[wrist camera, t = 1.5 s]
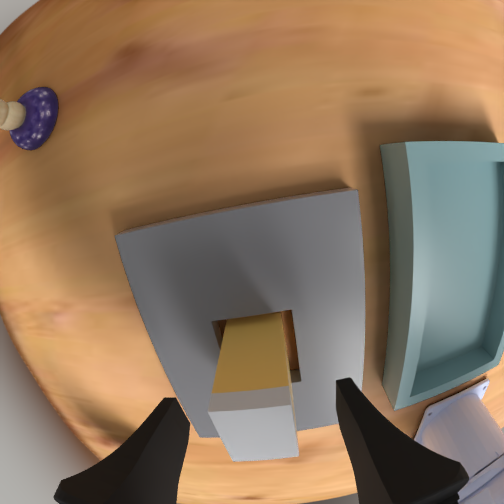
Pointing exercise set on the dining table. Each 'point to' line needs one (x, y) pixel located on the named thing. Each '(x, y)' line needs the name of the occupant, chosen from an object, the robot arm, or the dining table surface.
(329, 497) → the dining table surface
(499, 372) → the dining table surface
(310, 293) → the socket block
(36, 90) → the toy lamp
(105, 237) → the dining table surface
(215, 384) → the block
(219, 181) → the dining table surface
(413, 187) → the parts tray
